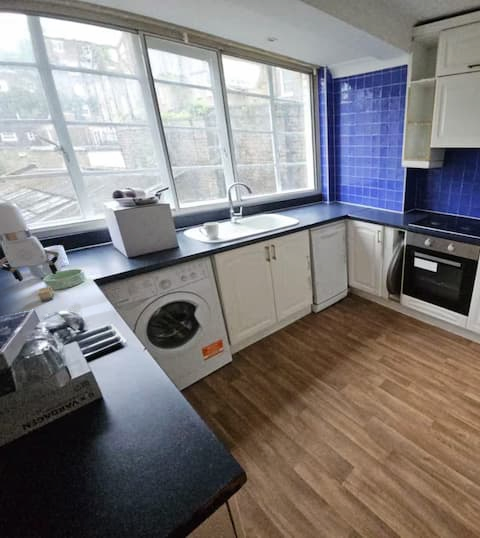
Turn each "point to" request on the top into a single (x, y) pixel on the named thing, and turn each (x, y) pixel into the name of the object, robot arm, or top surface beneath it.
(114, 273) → the top surface
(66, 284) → the bowl
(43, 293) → the eraser
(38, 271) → the teacup
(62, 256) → the white cup
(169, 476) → the top surface
